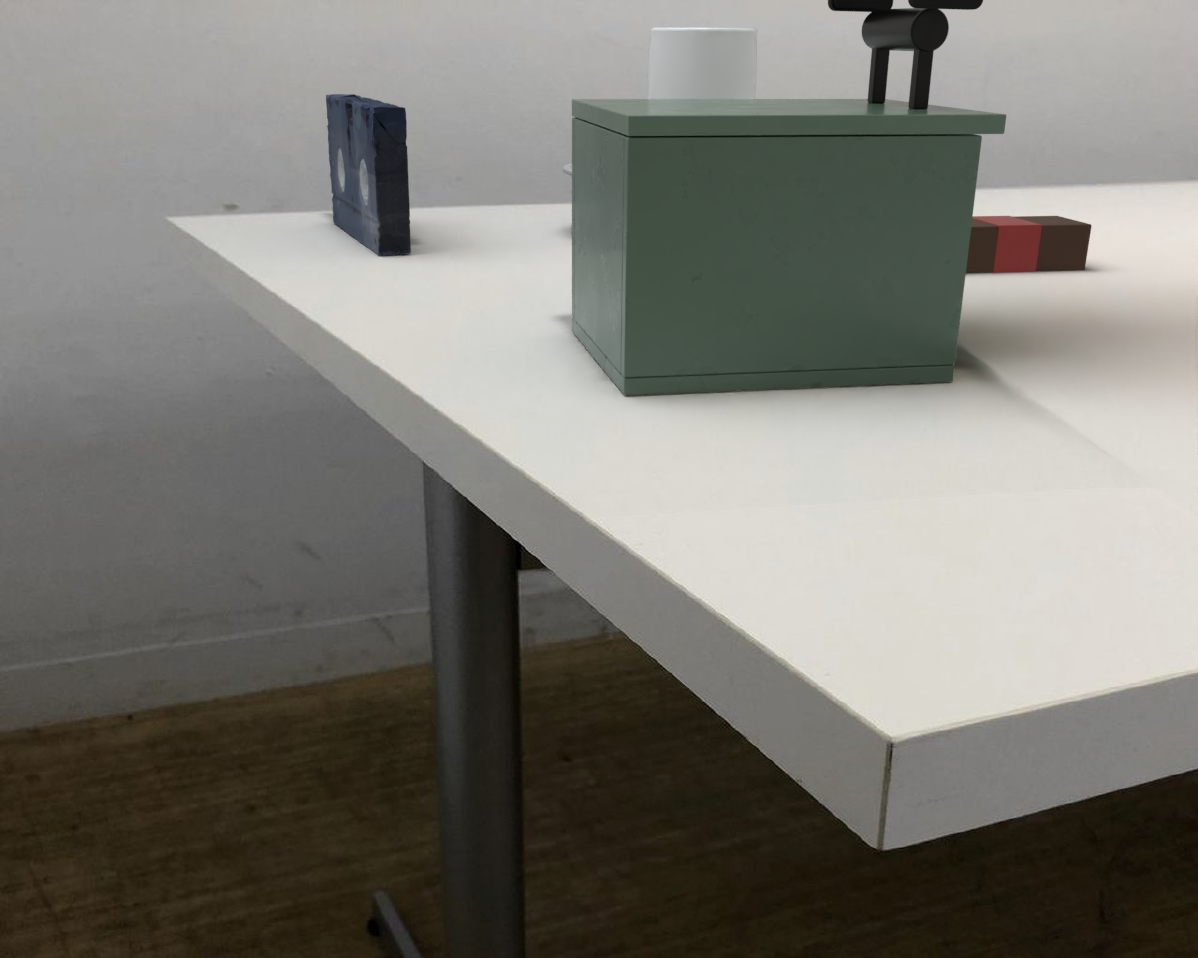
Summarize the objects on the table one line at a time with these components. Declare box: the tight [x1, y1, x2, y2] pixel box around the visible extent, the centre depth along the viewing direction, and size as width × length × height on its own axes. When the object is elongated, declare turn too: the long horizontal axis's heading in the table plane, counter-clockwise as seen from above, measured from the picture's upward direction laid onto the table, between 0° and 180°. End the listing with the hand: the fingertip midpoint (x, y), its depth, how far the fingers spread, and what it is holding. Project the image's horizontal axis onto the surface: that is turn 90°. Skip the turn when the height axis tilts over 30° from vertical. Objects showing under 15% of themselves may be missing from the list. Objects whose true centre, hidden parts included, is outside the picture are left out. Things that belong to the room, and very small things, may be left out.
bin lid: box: [571, 7, 1007, 136], centre depth 60 cm, size 17×14×5 cm
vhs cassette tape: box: [325, 93, 412, 256], centre depth 99 cm, size 18×3×10 cm, turn 19°
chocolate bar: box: [966, 215, 1092, 274], centre depth 85 cm, size 10×4×4 cm, turn 101°
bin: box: [571, 116, 983, 397], centre depth 63 cm, size 16×14×11 cm
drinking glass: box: [646, 26, 758, 99], centre depth 83 cm, size 7×7×15 cm
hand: (898, 10), depth 60 cm, fingers open, 9 cm apart
